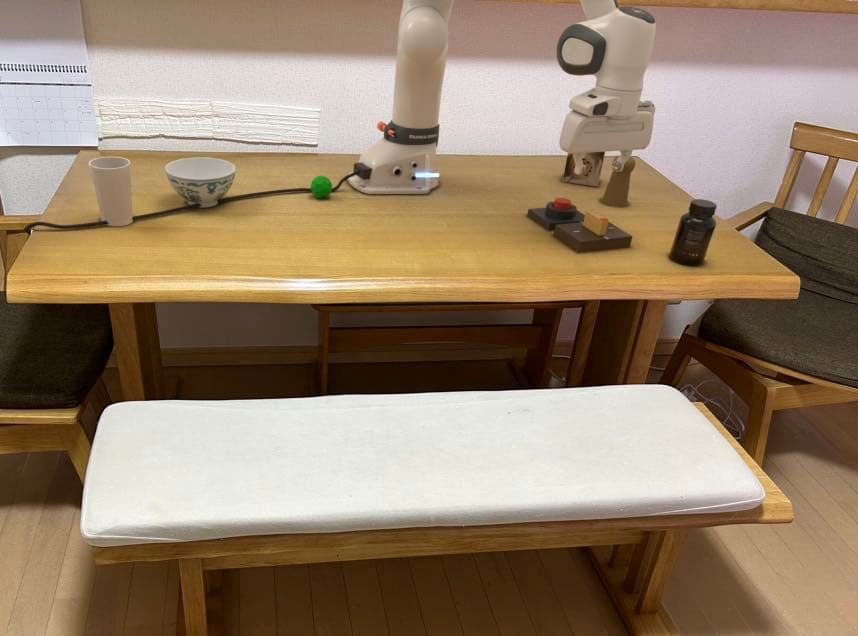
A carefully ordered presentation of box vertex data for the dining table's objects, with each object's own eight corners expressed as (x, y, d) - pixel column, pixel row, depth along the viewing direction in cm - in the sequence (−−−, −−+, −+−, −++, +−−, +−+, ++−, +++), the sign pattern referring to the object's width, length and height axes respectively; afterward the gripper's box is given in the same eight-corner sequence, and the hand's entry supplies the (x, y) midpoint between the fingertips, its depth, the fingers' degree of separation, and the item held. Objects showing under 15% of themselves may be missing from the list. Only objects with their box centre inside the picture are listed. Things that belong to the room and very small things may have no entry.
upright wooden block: (582, 225, 161) (586, 209, 160) (588, 224, 162) (592, 209, 160) (598, 235, 157) (602, 220, 155) (605, 235, 157) (609, 219, 155)
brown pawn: (627, 208, 180) (640, 161, 173) (602, 205, 181) (613, 158, 174) (625, 199, 185) (637, 154, 178) (600, 196, 185) (611, 151, 179)
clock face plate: (578, 253, 155) (581, 241, 153) (552, 235, 163) (554, 223, 161) (630, 248, 159) (633, 236, 158) (602, 230, 167) (605, 218, 165)
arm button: (558, 211, 166) (560, 203, 165) (550, 205, 169) (551, 198, 168) (572, 210, 167) (574, 202, 166) (563, 204, 170) (565, 197, 169)
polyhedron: (314, 201, 172) (314, 180, 169) (307, 194, 175) (307, 173, 173) (334, 199, 173) (335, 179, 171) (327, 192, 177) (328, 172, 174)
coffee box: (599, 180, 196) (614, 116, 187) (597, 187, 191) (612, 122, 182) (564, 174, 199) (577, 111, 189) (561, 181, 194) (574, 116, 184)
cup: (101, 229, 152) (92, 170, 145) (93, 216, 157) (85, 158, 150) (141, 224, 155) (134, 166, 148) (132, 211, 160) (125, 154, 154)
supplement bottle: (710, 262, 155) (729, 206, 148) (689, 268, 152) (707, 211, 145) (683, 250, 160) (700, 195, 153) (661, 256, 156) (678, 199, 149)
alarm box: (548, 230, 165) (551, 215, 163) (527, 216, 172) (529, 201, 170) (590, 226, 168) (593, 211, 166) (568, 212, 175) (571, 197, 173)
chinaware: (250, 204, 168) (249, 169, 164) (195, 219, 159) (192, 183, 154) (209, 186, 176) (207, 153, 172) (154, 200, 167) (151, 165, 162)
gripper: (646, 96, 153) (628, 164, 160) (563, 99, 146) (548, 170, 153) (667, 104, 148) (648, 174, 156) (582, 107, 141) (566, 180, 149)
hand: (598, 172), depth 155 cm, fingers open, 8 cm apart
